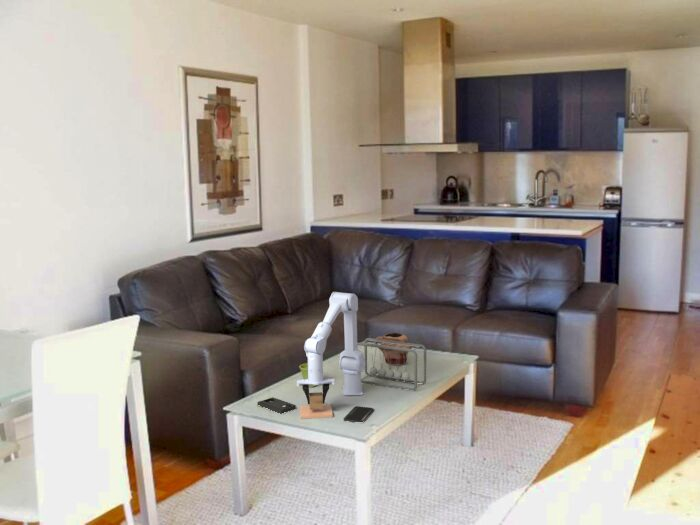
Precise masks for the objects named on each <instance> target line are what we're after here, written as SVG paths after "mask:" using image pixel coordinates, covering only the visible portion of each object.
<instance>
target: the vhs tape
mask: <svg viewBox="0 0 700 525" xmlns="http://www.w3.org/2000/svg"><path fill="white" fill-rule="evenodd" d="M258 405H260V406H262V407H261V408H263V407H265V408H268V409H270V410H269V411H271V410H272V411H271V412H274V411H275V412H274V413H276V412H277V414H279V413H280V414H279V415H283V414H285V413H284V412H286V413H288V411H289V412H292V411H294V409H295V410H297V405H296V404H293V403H291V402H289V401H285V400H283V399H279V398H276V397H273V396H272V397H270V398H267V399H264V400H260V401H257V406H258ZM260 406H259V407H260ZM289 406H290V407H289ZM265 408H264V409H265ZM268 409H267V410H268ZM291 410H292V411H291ZM282 413H283V414H282Z"/></svg>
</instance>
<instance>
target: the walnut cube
mask: <svg viewBox="0 0 700 525" xmlns="http://www.w3.org/2000/svg"><path fill="white" fill-rule="evenodd" d="M309 400H310V404H308V406H310V410H313V409H323V405H324V404H323V391H322V392H320V391H319V392H309Z"/></svg>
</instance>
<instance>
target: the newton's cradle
mask: <svg viewBox="0 0 700 525" xmlns="http://www.w3.org/2000/svg"><path fill="white" fill-rule="evenodd" d="M369 341H370V342H373V343H368V342H369ZM375 341H376V344H375ZM377 342H378V343H380V344H378V343H377ZM382 342H383V343H384V345H381V343H382ZM383 343H382V344H383ZM385 343H391V344H399V345H406V346H412V347H416V348H412V349H408V348H400V347H397V346H396V347H392V346H389V345H388V346H385ZM377 344H378V345H377ZM391 344H390V345H391ZM399 345H398V346H399ZM357 346H363V347H364V353H363V354H364V360H365V368H364V373H365V375H366V376H365V377H362V378H361V384H369V385H373V384H375V386H381V387H386V386H388V387H387V388H392V387H394V388H393V389H398V388H401V389H400V390H404V389H409V390H408V391H410V390H414V391H416V390H417V388H418V386H417V385H418V384H417V383H423V385H425V384H426V382H427V348H426V345H424V344H421V343H413V342H410V343H406V342H399V341H391V340H383V339H376V338H373V337H367V338H365V339H364V340H363V341H360V342H357ZM368 347H369V348H376V349H379V350H380V348H384V349H387V351H388V349H392V350H395V352H396V350H399V351H403V352H404V351H406V352H408V353H407V360H408V359H409V358H408V356H409V353H412V354H414V355H413V359H414V362H413V363H414V369H413V370H414V378H413V379H414V380H410V378H411V374H410V373H409V372H408V371H407V370H408V369H407V367H408V366H405V368H404V372H403V373H402V372H401V371H400V370H399V366H400V365H397V369H396V370H395V371H393V369H391V366H392V364H389V366H388V367H389V368H388V369H387V370H386V369H385V368H384V367H383V366H384V364H380V366H381V367H380V368H379V369H377V368H376V366H372V367H370V368H369V370H368ZM419 348H422V349H423V381H418V353H417V351H416V350H417V349H419ZM376 353H377V350H375V354H374V356H376ZM379 355H380V356H379V358H380V360H382V358H385V357H384V353H382V357H381V354H379ZM391 357H392V352H391ZM399 357H400V353H399ZM371 358H372V360H371V361H373V365H375V363H376V362H375V361H376V360H373V359H374V358H373V355H371ZM388 361H389V357H388ZM396 362H397V358H396ZM404 363H405V359H404ZM405 364H406V363H405ZM368 377H370V378H371V377H372V378H376V377H378V378H377V379H382V378H384V379H383V380H389V379H391V381H395V380H398V381H397V382H401V381H405V382H404V383H408V382H414V383H413V385H414V386H413V387H407V386H402V385H397V384H396V385H395V384H390V383H383V382H382V383H381V382H377V381H369V380H364V379H366V378H368Z"/></svg>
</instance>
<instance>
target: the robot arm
mask: <svg viewBox="0 0 700 525" xmlns="http://www.w3.org/2000/svg"><path fill="white" fill-rule="evenodd" d="M358 299H359V298H358V296H357V295H356V294H355V293H350V292H349V293H348V292H340V291H339V292H338V291H332V293H331V295H330V297H329V299H328V301H329V302H328V303H329V307H328V309H327V311H326V314H325V315H324V318H323V321H320V322H319V323H318V324H317V325H316V328H315V329H314V331H313V333H312V335H311V337H309V338H307V339H306V340H305V342H304V345H303V349H304V351H305V354H306V355H305V356H306V357H307V363H308V379H303V378H302V379H297V380H296V387H301V388H302V391H303V392H304V395H305V398H306V399H307V400H306V401H307V405H309V404H310V400H309V393H310V387H309V385H318V386H322V395H323V405H325V400H326V397H327V394H328V392H329V389H330V386H331V385H332V386H335V385H336V384H335V383H336V381H335V378H324V364H323V363H324V360H323V356H324V355H323V354H324V352H325V350H326V347H327V342H328V341H327V340H328V338H329V337H330V334H331V332H332V330H333V328H332V325H333V323H334V322H335V321H336V319H337V317H338V315H339V314H340V313H343V327H344V328H343V329H344V330H343V331H344V350H342V351H341V352H340V354H339V362H338V367H339V368H340V370H341V372H342V373H343V387H342V388H341V389H342V394H343V396H346V397H347V396H363V395H364V392H363V389H362V383H361V379H362V373H363V371H365V353H363V352H362V351H361V350H360V349H359V348H358V345H357V343H358V326H357V325H358V319H357V312H358V311H359V300H358Z"/></svg>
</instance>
